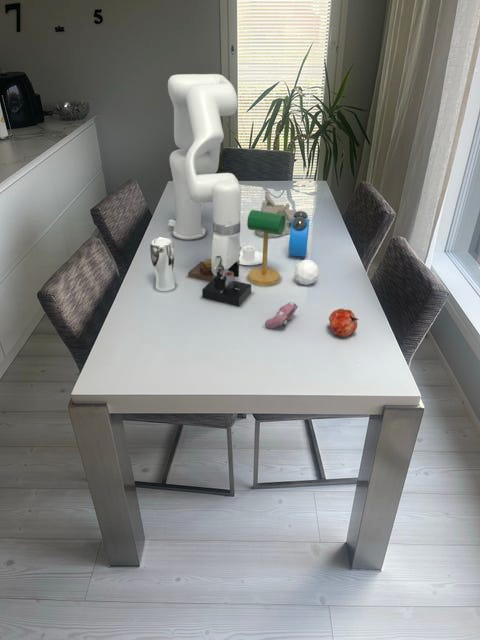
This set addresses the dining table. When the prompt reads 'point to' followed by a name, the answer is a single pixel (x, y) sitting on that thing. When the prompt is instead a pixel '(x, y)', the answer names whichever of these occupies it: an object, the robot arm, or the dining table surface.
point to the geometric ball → (306, 272)
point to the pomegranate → (343, 322)
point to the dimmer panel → (227, 293)
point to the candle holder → (250, 256)
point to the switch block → (202, 272)
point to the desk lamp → (265, 244)
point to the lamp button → (207, 263)
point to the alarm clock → (299, 234)
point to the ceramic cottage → (278, 209)
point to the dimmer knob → (229, 279)
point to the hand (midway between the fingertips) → (227, 282)
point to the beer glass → (163, 262)
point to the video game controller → (281, 315)
